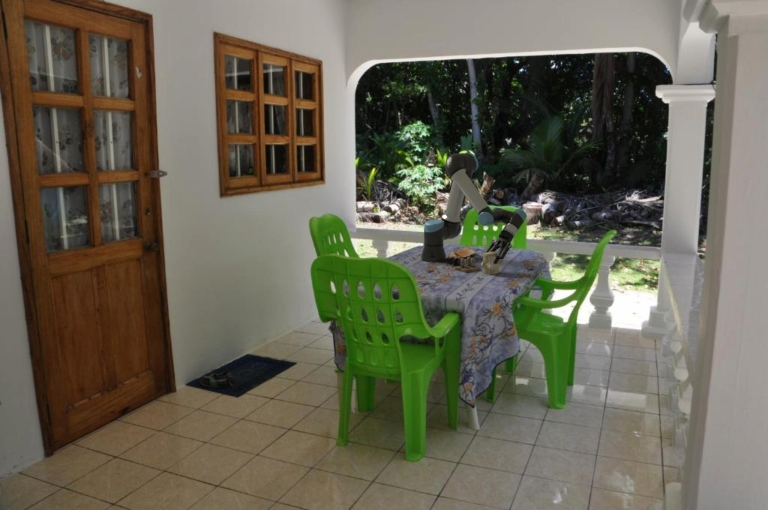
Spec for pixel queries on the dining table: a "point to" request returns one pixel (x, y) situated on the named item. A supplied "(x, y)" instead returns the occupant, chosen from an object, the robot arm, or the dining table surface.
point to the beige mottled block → (486, 262)
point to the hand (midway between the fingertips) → (486, 266)
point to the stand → (467, 265)
